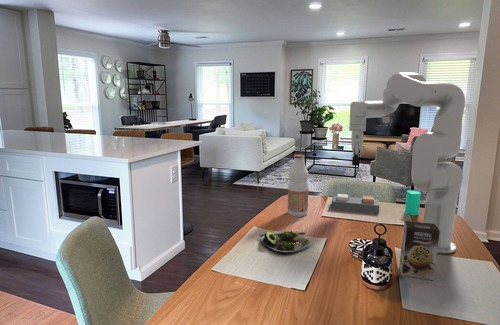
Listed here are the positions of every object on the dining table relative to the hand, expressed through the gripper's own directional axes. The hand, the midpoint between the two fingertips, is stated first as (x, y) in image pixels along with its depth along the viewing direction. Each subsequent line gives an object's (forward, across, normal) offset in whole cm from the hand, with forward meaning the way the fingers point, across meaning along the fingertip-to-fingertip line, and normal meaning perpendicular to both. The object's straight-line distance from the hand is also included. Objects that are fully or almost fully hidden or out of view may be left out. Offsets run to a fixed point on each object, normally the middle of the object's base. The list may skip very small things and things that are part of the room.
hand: (355, 165), depth 164 cm
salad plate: (+22, -52, +25) cm, 62 cm away
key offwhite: (+19, -2, +5) cm, 20 cm away
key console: (+21, -2, -1) cm, 21 cm away
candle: (+22, -2, -26) cm, 34 cm away
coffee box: (+22, -61, -18) cm, 68 cm away
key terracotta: (+19, -2, -7) cm, 20 cm away
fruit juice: (+22, -18, +25) cm, 38 cm away
